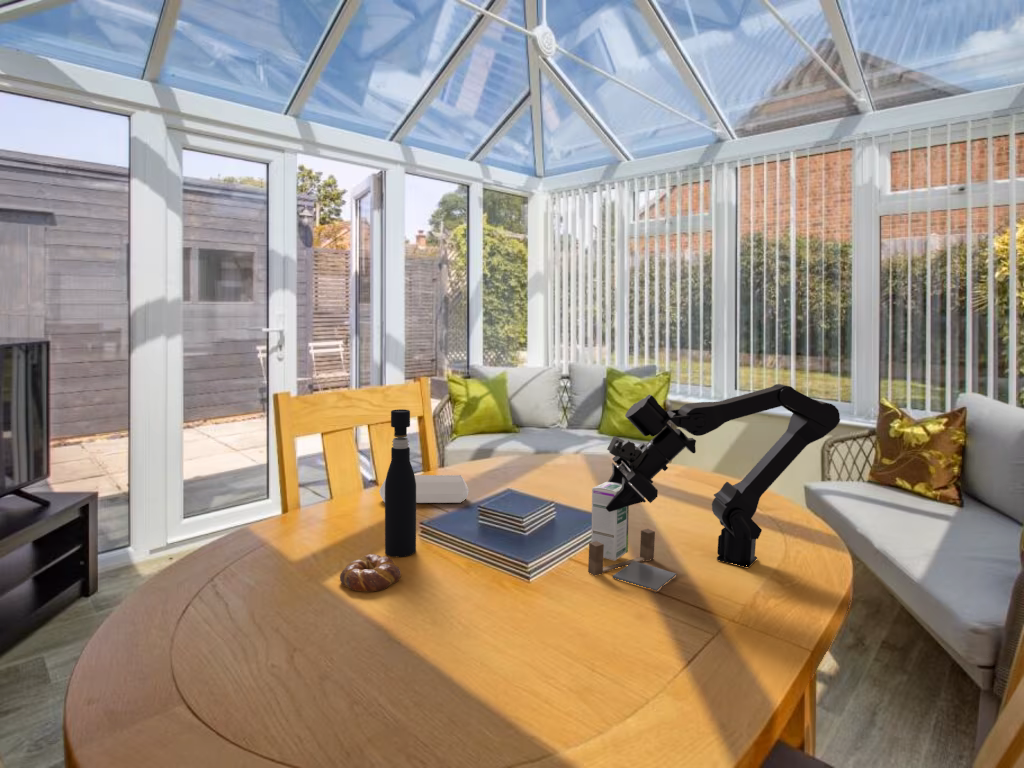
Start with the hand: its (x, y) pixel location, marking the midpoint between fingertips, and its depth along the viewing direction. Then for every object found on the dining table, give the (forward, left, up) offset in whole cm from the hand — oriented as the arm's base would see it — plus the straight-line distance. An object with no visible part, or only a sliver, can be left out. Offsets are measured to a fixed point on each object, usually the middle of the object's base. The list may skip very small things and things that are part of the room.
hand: (603, 503), depth 121 cm
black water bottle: (+34, +25, -12) cm, 44 cm away
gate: (-5, +1, -12) cm, 13 cm away
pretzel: (+28, +38, -12) cm, 49 cm away
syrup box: (-1, -1, -11) cm, 11 cm away
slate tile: (-11, +3, -12) cm, 16 cm away
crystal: (+56, -2, -12) cm, 57 cm away
